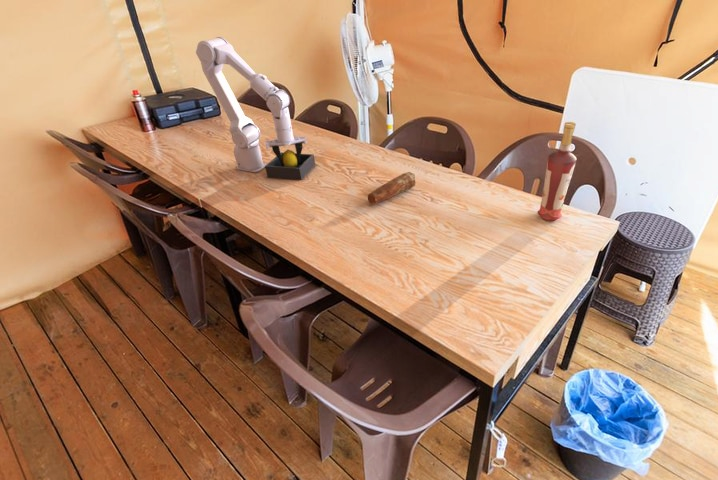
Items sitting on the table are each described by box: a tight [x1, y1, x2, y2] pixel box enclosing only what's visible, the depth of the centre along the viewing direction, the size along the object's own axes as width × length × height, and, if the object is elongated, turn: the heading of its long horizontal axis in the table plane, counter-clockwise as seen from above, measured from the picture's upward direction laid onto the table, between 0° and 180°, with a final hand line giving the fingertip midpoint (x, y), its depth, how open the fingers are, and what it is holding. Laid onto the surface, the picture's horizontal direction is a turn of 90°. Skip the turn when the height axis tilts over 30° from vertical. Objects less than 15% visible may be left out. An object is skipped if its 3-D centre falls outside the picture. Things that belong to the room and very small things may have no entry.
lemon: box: [282, 149, 298, 167], centre depth 150 cm, size 6×6×8 cm
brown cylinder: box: [367, 171, 416, 205], centre depth 133 cm, size 6×19×6 cm, turn 133°
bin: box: [264, 151, 316, 181], centre depth 151 cm, size 14×14×4 cm
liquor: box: [537, 121, 577, 222], centre depth 112 cm, size 7×7×28 cm
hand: (290, 164), depth 151 cm, fingers closed on lemon, 5 cm apart
